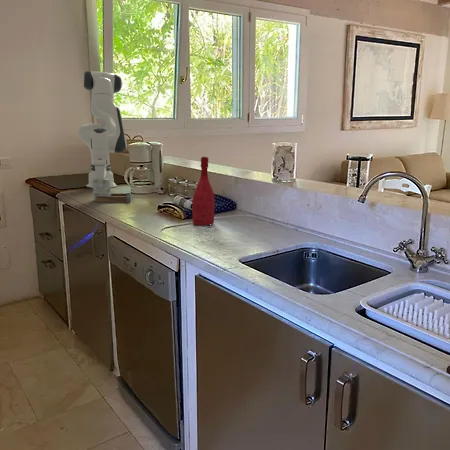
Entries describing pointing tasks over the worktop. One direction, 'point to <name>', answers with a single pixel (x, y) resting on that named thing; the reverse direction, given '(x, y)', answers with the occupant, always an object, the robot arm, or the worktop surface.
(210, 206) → the wine bottle
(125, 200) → the guide channel
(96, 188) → the ink box
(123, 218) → the worktop surface
